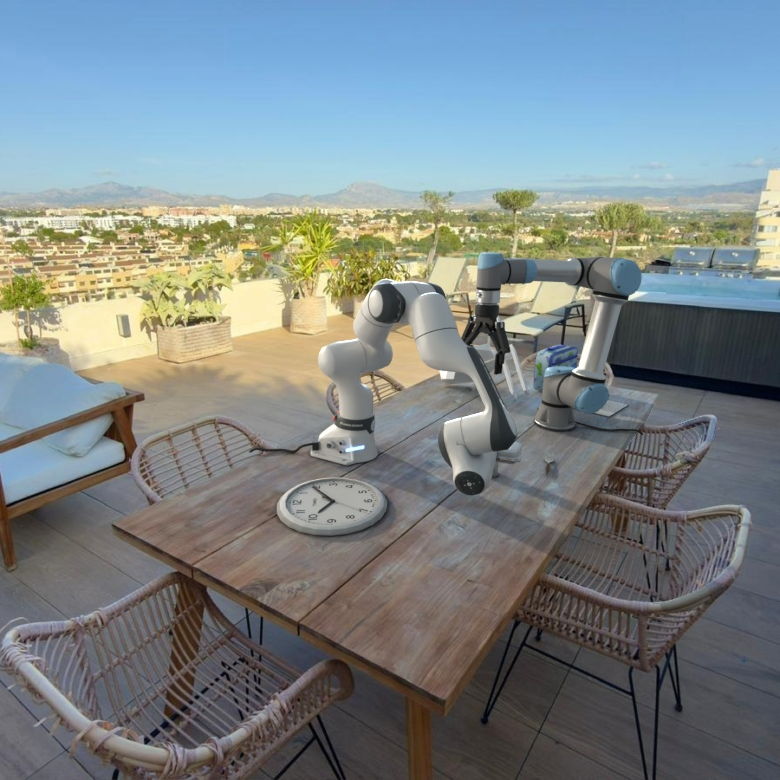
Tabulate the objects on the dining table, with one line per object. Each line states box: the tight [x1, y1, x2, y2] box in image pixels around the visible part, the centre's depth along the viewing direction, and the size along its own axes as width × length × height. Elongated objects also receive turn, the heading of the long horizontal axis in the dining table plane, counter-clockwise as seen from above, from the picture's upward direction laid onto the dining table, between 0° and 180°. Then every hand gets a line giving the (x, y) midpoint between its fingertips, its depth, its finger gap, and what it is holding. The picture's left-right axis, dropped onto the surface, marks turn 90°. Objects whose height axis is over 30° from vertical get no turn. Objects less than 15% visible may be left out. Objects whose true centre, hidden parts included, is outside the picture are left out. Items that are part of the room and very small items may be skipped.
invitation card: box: [594, 399, 629, 418], centre depth 226 cm, size 21×1×15 cm
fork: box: [544, 451, 555, 476], centre depth 168 cm, size 3×16×2 cm, turn 160°
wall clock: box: [276, 476, 388, 537], centre depth 142 cm, size 30×2×30 cm
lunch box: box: [533, 344, 579, 392], centre depth 247 cm, size 26×11×21 cm, turn 134°
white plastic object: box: [438, 315, 531, 400], centre depth 245 cm, size 37×45×31 cm
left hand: (486, 436), depth 148 cm, fingers open, 8 cm apart
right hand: (482, 369), depth 170 cm, fingers open, 13 cm apart
